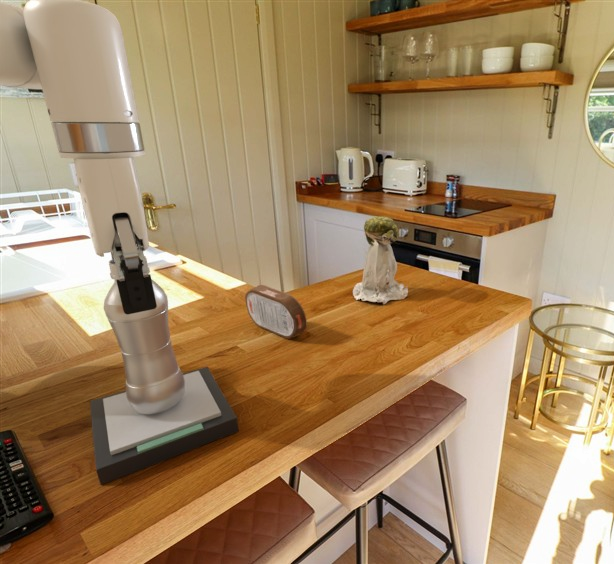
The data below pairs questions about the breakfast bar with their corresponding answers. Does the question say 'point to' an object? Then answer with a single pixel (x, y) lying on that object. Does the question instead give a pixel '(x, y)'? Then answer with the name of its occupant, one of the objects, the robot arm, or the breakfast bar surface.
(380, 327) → the breakfast bar surface
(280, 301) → the tin
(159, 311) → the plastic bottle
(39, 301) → the breakfast bar surface
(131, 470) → the scale
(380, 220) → the draped concrete planter
